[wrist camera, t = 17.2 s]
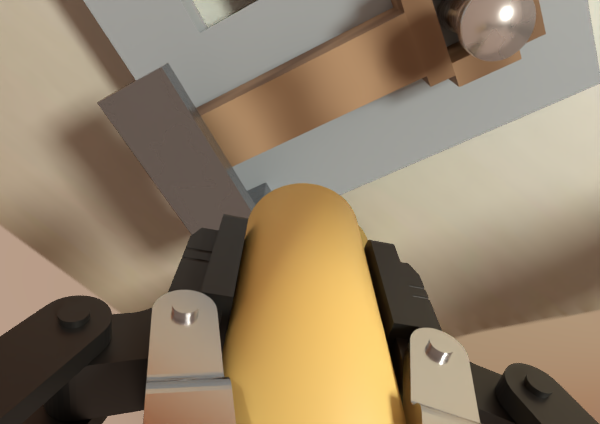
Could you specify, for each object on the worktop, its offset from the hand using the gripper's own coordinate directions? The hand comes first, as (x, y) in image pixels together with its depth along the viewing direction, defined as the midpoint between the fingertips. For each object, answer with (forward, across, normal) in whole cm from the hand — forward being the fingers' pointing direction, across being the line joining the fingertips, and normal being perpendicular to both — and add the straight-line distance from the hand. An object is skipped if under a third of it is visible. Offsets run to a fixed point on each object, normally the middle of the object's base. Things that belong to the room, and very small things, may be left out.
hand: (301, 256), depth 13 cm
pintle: (+20, -8, -7) cm, 22 cm away
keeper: (+20, +5, +4) cm, 21 cm away
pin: (+1, 0, 0) cm, 1 cm away
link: (+17, -2, -3) cm, 18 cm away
